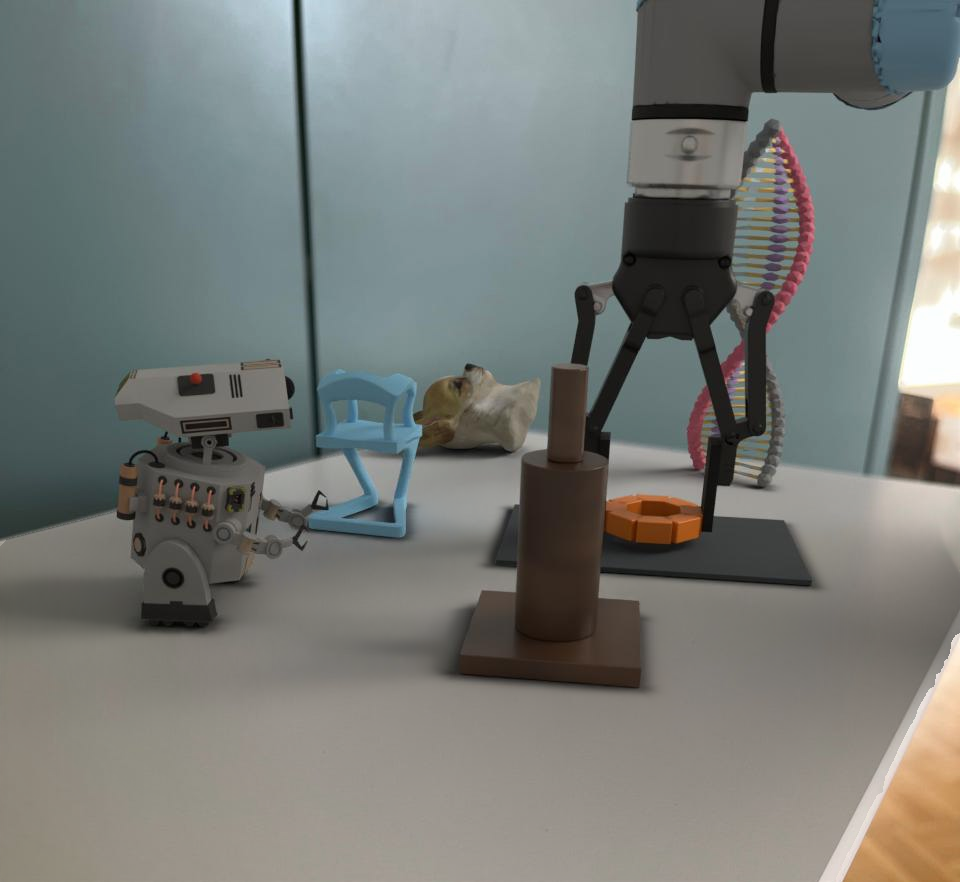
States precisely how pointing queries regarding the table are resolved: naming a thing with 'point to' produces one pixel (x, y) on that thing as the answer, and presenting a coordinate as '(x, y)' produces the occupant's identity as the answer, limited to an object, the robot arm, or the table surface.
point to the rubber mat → (698, 553)
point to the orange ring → (653, 519)
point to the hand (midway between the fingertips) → (652, 523)
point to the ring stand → (558, 567)
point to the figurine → (201, 481)
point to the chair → (368, 445)
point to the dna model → (782, 298)
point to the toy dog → (477, 411)
